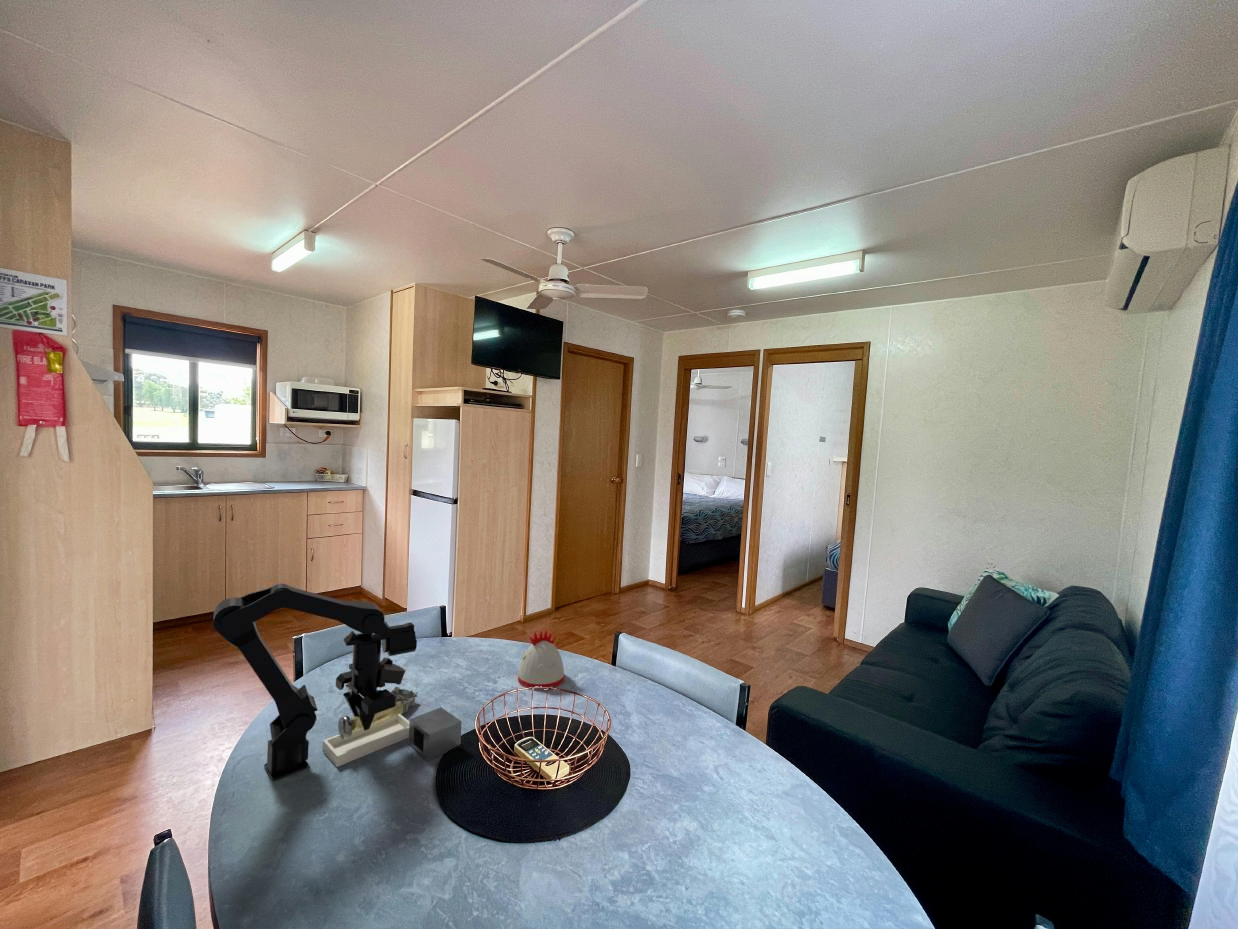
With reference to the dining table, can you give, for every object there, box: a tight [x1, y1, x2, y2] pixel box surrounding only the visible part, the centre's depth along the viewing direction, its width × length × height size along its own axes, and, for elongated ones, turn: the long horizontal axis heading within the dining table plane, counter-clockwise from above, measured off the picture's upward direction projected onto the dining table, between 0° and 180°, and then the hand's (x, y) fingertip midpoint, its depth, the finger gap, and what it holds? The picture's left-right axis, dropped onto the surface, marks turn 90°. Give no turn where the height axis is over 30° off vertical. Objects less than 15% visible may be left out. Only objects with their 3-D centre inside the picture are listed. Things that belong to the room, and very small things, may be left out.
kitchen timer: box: [517, 629, 565, 688], centre depth 153 cm, size 14×14×15 cm
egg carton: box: [390, 686, 419, 713], centre depth 132 cm, size 11×8×4 cm
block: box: [408, 706, 463, 762], centre depth 117 cm, size 8×9×6 cm
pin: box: [337, 701, 404, 739], centre depth 117 cm, size 13×5×5 cm, turn 139°
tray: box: [322, 714, 410, 768], centre depth 117 cm, size 17×8×2 cm, turn 139°
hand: (363, 727), depth 116 cm, fingers closed on pin, 3 cm apart
